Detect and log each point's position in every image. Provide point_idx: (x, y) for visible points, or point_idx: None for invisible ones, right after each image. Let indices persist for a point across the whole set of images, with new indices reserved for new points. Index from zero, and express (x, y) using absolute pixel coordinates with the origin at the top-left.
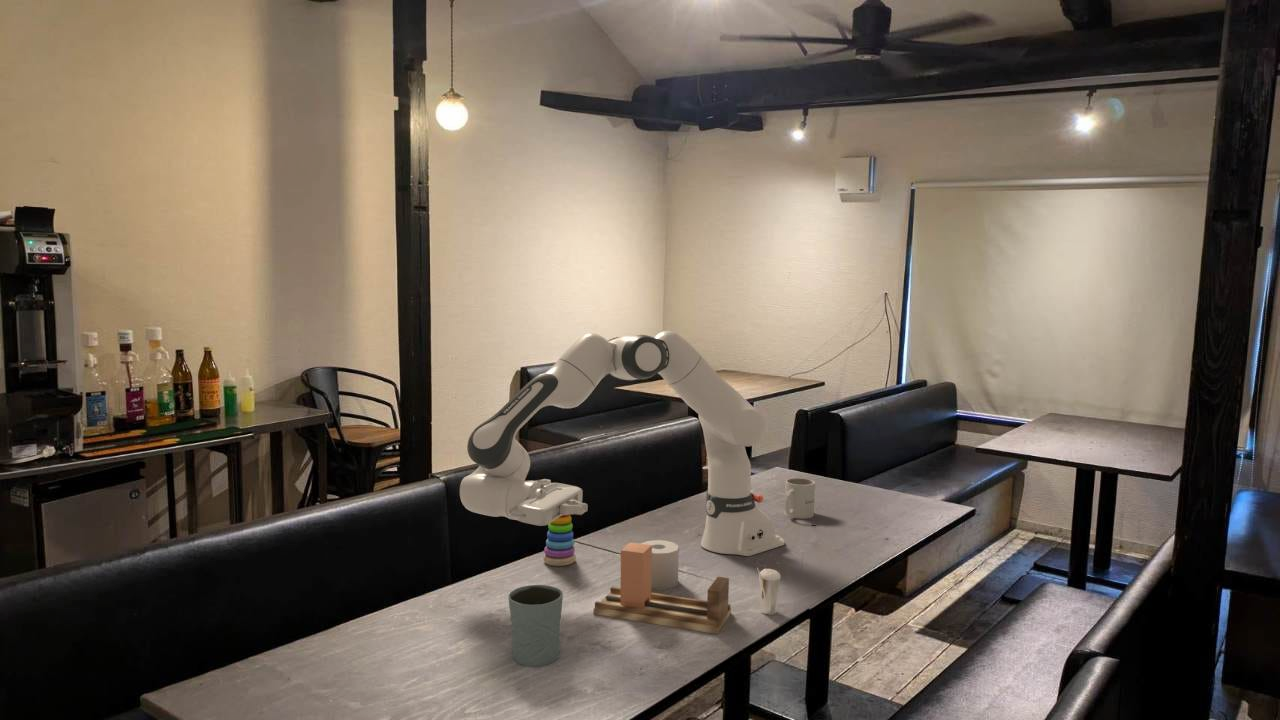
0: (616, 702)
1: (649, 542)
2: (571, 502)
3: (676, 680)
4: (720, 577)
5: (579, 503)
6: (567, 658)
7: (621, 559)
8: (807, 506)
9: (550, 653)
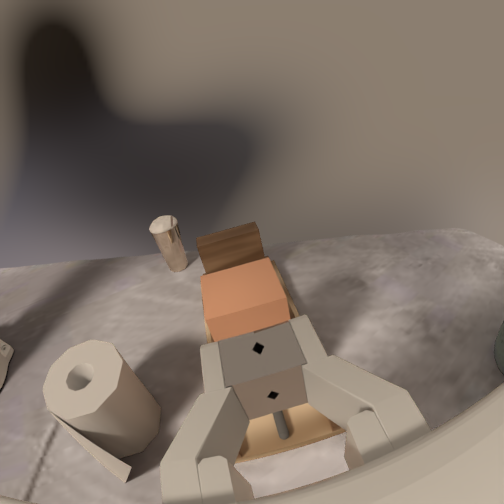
0: (476, 241)
1: (58, 404)
2: (232, 468)
3: (403, 236)
4: (199, 243)
5: (233, 380)
6: (488, 327)
7: (289, 316)
8: None
9: None
